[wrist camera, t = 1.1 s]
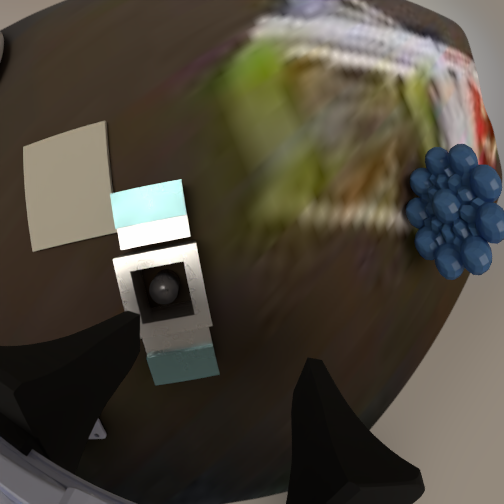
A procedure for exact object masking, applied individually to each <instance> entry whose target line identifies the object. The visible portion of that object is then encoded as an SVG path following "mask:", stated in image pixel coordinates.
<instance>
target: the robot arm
mask: <svg viewBox="0 0 504 504" xmlns="http://www.w3.org/2000/svg"><path fill="white" fill-rule="evenodd" d="M139 352H140V314H137V313H134V312H131V311H125V312H123V313H121V314H119V315H116V316H114V317H112V318H110V319H108V320H106V321H104V322H101V323H99V324H97V325H95V326H92V327H90V328H88V329H85V330H82V331H80V332H77V333H75V334H72V335H69V336H66V337H63V338H59V339H56V340H52V341H47V342H42V343H37V344H31V345H22V346H0V504H136V503H134V502H131V501H129V500H126V499H124V498H121V497H119V496H117V495H114V494H112V493H110V492H108V491H106V490H103V489H101V488H99V487H97V486H95V485H93V484H91V483H89V482H87V481H85V480H83V479H81V478H79V477H78V476H76V475H75V472H76V469H77V466H78V464H79V461H80V458H81V455H82V453H83V450H84V448H85V445H86V443H87V441H88V439H104V438H106V435H107V434H106V432H105V430H104V428H103V426H102V424H101V422H100V420H99V416H100V414H101V412H102V410H103V408H104V407H105V405H106V403H107V402H108V400H109V399H110V398H111V396H112V395H113V393H114V392H115V390H116V389H117V388H118V386H119V385H120V383H121V382H122V381H123V379H124V378H125V376H126V375H127V374H128V372H129V371H130V369H131V368H132V366H133V364H134V362H135V360H136V358H137V356H138V354H139ZM291 416H292V465H291V474H290V482H289V488H288V495H287V501H286V504H413V503H414V502H415V501H417V500H418V499H419V498H420V497H421V496H422V494H423V493H424V491H425V487H424V483H423V479H422V475H421V472H420V470H419V468H417V467H415V466H414V465H412V464H410V463H409V462H407V461H406V460H404V459H402V458H401V457H399V456H398V455H397V454H395V453H394V452H393V451H391V450H390V449H389V448H388V447H386V446H385V445H384V444H383V443H382V442H381V441H380V440H379V439H377V438H376V437H375V436H374V435H373V434H372V433H371V432H370V431H369V430H368V429H367V428H366V426H365V425H364V424H363V423H362V422H361V421H360V419H359V418H358V417H357V416H356V415H355V413H354V412H353V411H352V409H351V408H350V406H349V405H348V404H347V402H346V401H345V399H344V398H343V396H342V394H341V393H340V391H339V390H338V388H337V386H336V385H335V383H334V381H333V379H332V378H331V376H330V374H329V372H328V370H327V368H326V367H325V365H324V363H323V361H322V360H319V359H313V358H307V361H306V363H305V365H304V368H303V370H302V373H301V375H300V377H299V380H298V382H297V385H296V387H295V389H294V393H293V401H292V411H291ZM97 434H98V435H97Z"/></svg>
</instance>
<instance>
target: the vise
mask: <svg viewBox="0 0 504 504" xmlns="http://www.w3.org/2000/svg"><path fill="white" fill-rule="evenodd" d="M110 197H111V204H112V211H113V218H114V224H115V229H117V231H118V237H119V242H120V248H121V250H124V249H129V248H134V247H139V246H144V245H149V244H154V243H159V242H164V241H170V240H175V239H180V238H186V237H191V234H190V228H189V223H188V217H187V211H186V204H185V198H184V192H183V185H182V181H181V179H180V180H175V181H169V182H164V183H159V184H154V185H149V186H144V187H139V188H134V189H130V190H125V191H121V192H116V193H112V194H110ZM179 285H180V280H179V277H178V275H177V274H176V273H175V272H174V271H172V270H169V269H164V270H161V271H160V272H158V273H157V275H156V276H155V278H154V279H153V281H152V282H151V284H150V287H149V292H150V295H151V297H152V299H153V300H154V301H155V302H157V303H159V304H163V305H165V304H170V303H172V302H173V301H174V300H175V299H176V297H177V295H178V290H179ZM142 340H143V343H144V346H145V350H146V353H147V357H146V359H147V362H148V365H149V368H150V371H151V374H152V377H153V380H154V383H155V385H162V384H169V383H175V382H181V381H187V380H193V379H198V378H204V377H209V376H214V375H219V369H218V364H217V360H216V355H215V351H214V347H213V342H212V338H211V334H210V329H209V327H205V328H199V329H194V330H189V331H183V332H178V333H172V334H166V335H161V336H155V337H149V338H142Z"/></svg>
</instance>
